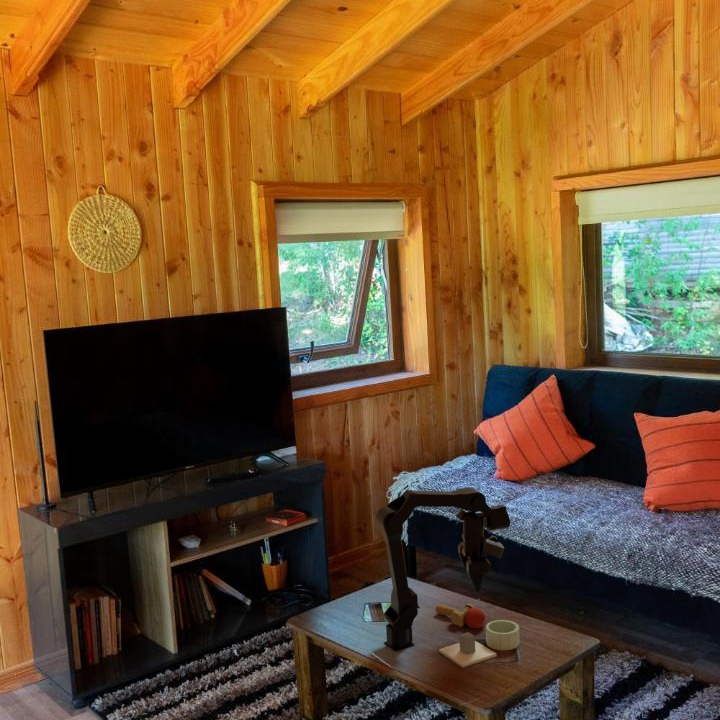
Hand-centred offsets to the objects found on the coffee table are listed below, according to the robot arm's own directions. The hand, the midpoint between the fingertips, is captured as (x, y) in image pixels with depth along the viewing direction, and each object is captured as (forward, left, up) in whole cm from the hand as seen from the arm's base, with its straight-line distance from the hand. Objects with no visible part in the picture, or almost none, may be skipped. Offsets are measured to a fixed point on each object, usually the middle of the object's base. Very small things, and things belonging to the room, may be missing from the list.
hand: (474, 585), depth 259 cm
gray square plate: (-11, -11, -14) cm, 21 cm away
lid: (-11, -11, -13) cm, 21 cm away
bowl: (+1, -11, -14) cm, 18 cm away
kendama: (0, +8, -14) cm, 16 cm away
